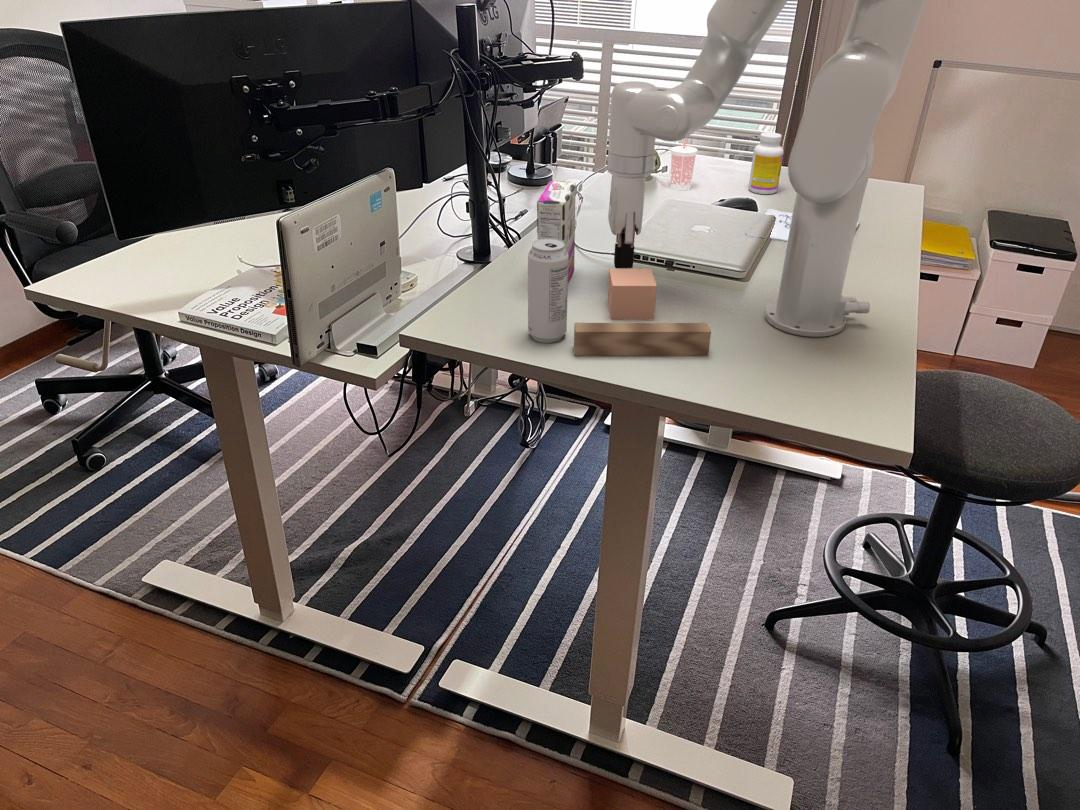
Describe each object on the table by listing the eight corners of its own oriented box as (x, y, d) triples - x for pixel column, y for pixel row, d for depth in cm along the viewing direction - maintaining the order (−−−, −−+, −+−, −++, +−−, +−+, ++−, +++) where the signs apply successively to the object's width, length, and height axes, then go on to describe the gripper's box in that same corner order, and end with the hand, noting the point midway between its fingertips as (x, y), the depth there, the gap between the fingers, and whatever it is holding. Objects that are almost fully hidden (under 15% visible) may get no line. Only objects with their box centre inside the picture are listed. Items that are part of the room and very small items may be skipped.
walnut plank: (704, 346, 126) (707, 322, 124) (708, 355, 124) (711, 331, 122) (573, 346, 126) (574, 322, 124) (574, 355, 124) (575, 331, 122)
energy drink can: (544, 323, 133) (545, 234, 125) (574, 334, 130) (577, 243, 122) (520, 336, 129) (519, 244, 121) (550, 348, 126) (551, 254, 118)
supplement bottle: (780, 195, 190) (789, 138, 184) (751, 195, 190) (759, 138, 184) (773, 186, 196) (782, 131, 189) (745, 186, 196) (753, 130, 189)
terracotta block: (648, 302, 140) (651, 268, 137) (653, 320, 135) (656, 285, 131) (607, 301, 140) (609, 268, 137) (610, 319, 134) (612, 285, 131)
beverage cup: (694, 185, 197) (700, 124, 189) (692, 192, 192) (699, 130, 184) (668, 183, 198) (673, 122, 190) (665, 190, 193) (671, 129, 185)
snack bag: (843, 255, 160) (845, 245, 159) (741, 237, 168) (742, 227, 167) (861, 226, 175) (863, 216, 173) (766, 210, 183) (767, 201, 181)
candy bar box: (548, 268, 152) (549, 179, 144) (574, 270, 152) (577, 181, 143) (535, 292, 143) (535, 199, 135) (564, 295, 142) (566, 201, 134)
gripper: (604, 150, 143) (598, 250, 152) (611, 175, 130) (605, 283, 140) (647, 150, 143) (639, 251, 153) (659, 175, 130) (649, 283, 140)
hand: (623, 266), depth 146 cm, fingers closed
